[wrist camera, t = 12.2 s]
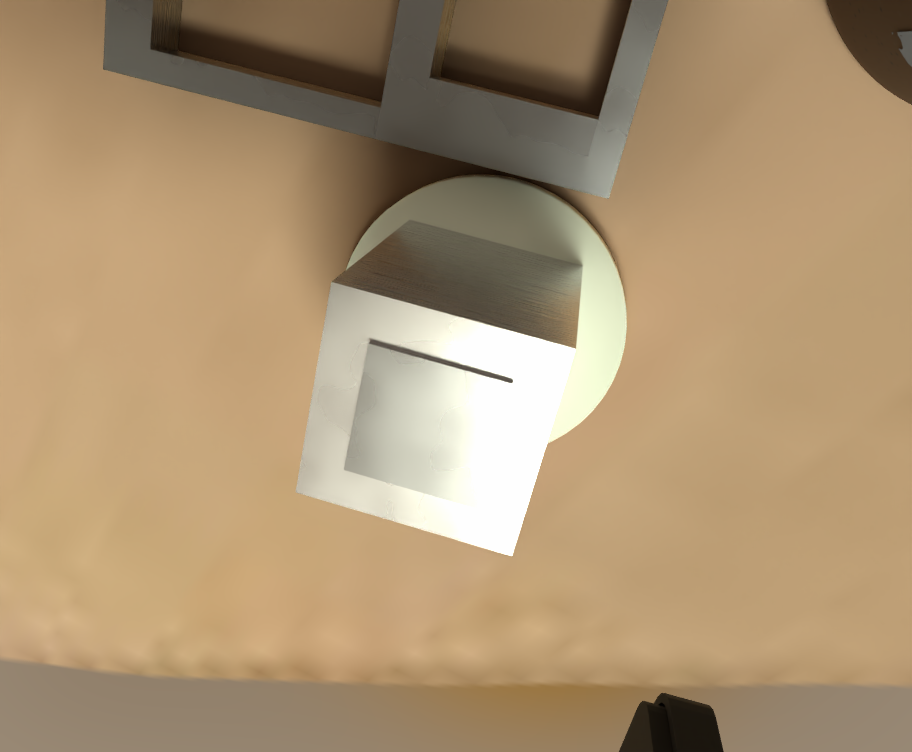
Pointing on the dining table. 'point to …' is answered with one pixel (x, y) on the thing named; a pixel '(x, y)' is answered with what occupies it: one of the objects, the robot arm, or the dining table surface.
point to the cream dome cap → (540, 231)
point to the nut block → (441, 382)
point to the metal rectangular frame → (413, 94)
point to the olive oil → (879, 39)
